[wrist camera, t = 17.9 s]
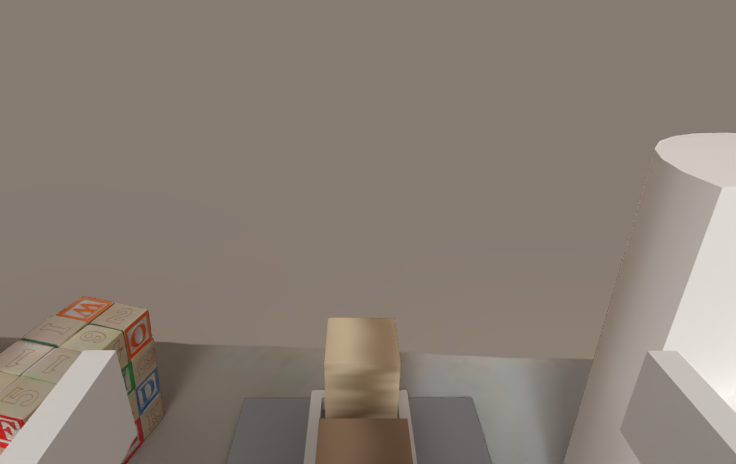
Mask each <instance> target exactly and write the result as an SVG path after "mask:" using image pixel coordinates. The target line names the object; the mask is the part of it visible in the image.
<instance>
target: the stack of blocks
mask: <svg viewBox="0 0 736 464" xmlns="http://www.w3.org/2000/svg"><path fill="white" fill-rule="evenodd" d="M83 350H116V353H117V356H118V360H119V364H120V368H121V372H122V376H123V380H124V384H125V387H126V391H127V395H128V399H129V403H130V407H131V411H132V415H133V418H134V422H135V426H136V430H137V434H136V436H135V438H134V440H133V442H132V444H131V446H130V448H129V449H128V451H127V453H126V455H125V457H124V459H123V461H122V463H121V464H126V463H127V461H128V460H129V459H130V458H131V456H132V455H133V454H134V453H135V451H136V450H137V449H138V448H139V446H140V445H141V444H142V443H143V441H144V440H145V439H146V438H147V437H148V436H149V434H150V433H151V432H152V431H153V429H154V428H155V427H156V425H157V424H158V423H159V422H160V420H161V419H162V418H163V416H164V410H163V404H162V397H161V392H160V386H159V380H158V372H157V366H156V365H157V360H156V352H155V345H154V339H153V338H152V334H151V326H150V319H149V312H148V310H147V309H145V308H140V307H135V306H130V305H126V304H122V303H115V304H114V303H113V302H111V301H106V300H100V299H96V298H90V297H85V296H83V297H81V298H79V299H78V300H77V301H75V302H74V303H72V304H71V305H70V306H68V307H67V308H65V309H64V310H62V311H61V312H60V313H58V314H57V315H56V316H51V317H49V318H48V319H47V320H45V321H44V322H43V323H41V324H39V325H38V326H37V327H35V328H34V329H33V330H31V331H30V332H28V333H27V334H26V335H24V336H23V337H22V340H20V341H17V342H15V343H14V344H12V345H11V346H9V347H8V348H7V349H6V350H4V351H3V352H1V353H0V455H1V454H2V452H3V451H4V450H5V449H6V447H7V446H8V445H9V444H10V442H11V441H12V440H13V439H14V437H15V436H16V435H17V434H18V432H19V431H20V430H21V429H22V427H23V426H24V425H25V423H26V422H27V421H28V420H29V418H30V417H31V416H32V415H33V413H34V412H35V411H36V410H37V408H38V407H39V406H40V405H41V403H42V402H43V401H44V400H45V398H46V397H47V396H48V394H49V393H50V392H51V391H52V389H53V388H54V387H55V386H56V384H57V383H58V382H59V381H60V379H61V378H62V377H63V376H64V374H65V373H66V372H67V371H68V369H69V368H70V367H71V365H72V364H73V363H74V362H75V360H76V359H77V358H78V357H79V355H80V354H81V353H82V352H83Z"/></svg>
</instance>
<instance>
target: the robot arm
mask: <svg viewBox="0 0 736 464" xmlns="http://www.w3.org/2000/svg"><path fill="white" fill-rule="evenodd" d="M620 432H621V433H622V435H623V436H624V438H625V440H626V441H627V443H628V444H629V446H630V448H631V449H632V451H633V452H634V454H635V455H636V457H637V459H638V460H639V462H640V463H641V464H736V413H735V412H734V411H733V409H732V408H731V407H730V406H729V405H728V404H727V403H726V402H725V401H724V400H723V399H722V398H721V397H720V396H719V395H718V394H717V393H716V392H715V390H714V389H713V388H712V387H711V386H710V385H709V384H708V383H707V382H706V381H705V380H704V379H703V378H702V377H701V376H700V375H699V374H698V373H697V371H696V370H695V369H694V368H693V367H692V366H691V365H690V364H689V363H688V362H687V361H686V360H685V359H684V358H683V357H682V356H681V355H680V354H679V352H678V351H647V353H646V356H645V358H644V361H643V364H642V367H641V370H640V373H639V376H638V379H637V381H636V384H635V387H634V390H633V393H632V396H631V399H630V401H629V404H628V407H627V410H626V413H625V416H624V419H623V421H622V424H621V427H620ZM136 434H137V430H136V426H135V422H134V418H133V415H132V411H131V407H130V403H129V399H128V395H127V391H126V387H125V384H124V380H123V376H122V372H121V368H120V364H119V360H118V356H117V353H116V350H83V352H82V353H81V354H80V355H79V357H78V358H77V359H76V360H75V362H74V363H73V364H72V365H71V367H70V368H69V369H68V371H67V372H66V373H65V374H64V376H63V377H62V378H61V379H60V381H59V382H58V383H57V384H56V386H55V387H54V388H53V389H52V391H51V392H50V393H49V394H48V396H47V397H46V398H45V400H44V401H43V402H42V403H41V405H40V406H39V407H38V408H37V410H36V411H35V412H34V413H33V415H32V416H31V417H30V418H29V420H28V421H27V422H26V423H25V425H24V426H23V427H22V429H21V430H20V431H19V432H18V434H17V435H16V436H15V437H14V439H13V440H12V441H11V442H10V444H9V445H8V446H7V447H6V449H5V450H4V451H3V452H2V454H1V455H0V464H121V463H122V461H123V459H124V457H125V455H126V453H127V451H128V449H129V448H130V446H131V444H132V442H133V440H134V438H135V436H136Z"/></svg>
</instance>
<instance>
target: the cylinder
mask: <svg viewBox="0 0 736 464" xmlns="http://www.w3.org/2000/svg"><path fill="white" fill-rule="evenodd" d="M647 351H678V352H679V354H680V355H681V356H682V357H683V358H684V359H685V360H686V361H687V362H688V363H689V364H690V365H691V366H692V367H693V368H694V369H695V370H696V371H697V373H698V374H699V375H700V376H701V377H702V378H703V379H704V380H705V381H706V382H707V383H708V384H709V385H710V386H711V387H712V388H713V389H714V390H715V392H716V393H717V394H718V395H719V396H720V397H721V398H722V399H723V400H724V401H725V402H726V403H727V404H728V405H729V406H730V407H731V408H732V409H733V411H734V412H735V413H736V133H696V134H687V135H679V136H673V137H670V138H667V139H664V140H661V141H659V143H658V144H657V146H656V147H655V150H654V153H653V156H652V160H651V163H650V167H649V170H648V174H647V177H646V180H645V184H644V188H643V191H642V194H641V198H640V201H639V205H638V208H637V211H636V215H635V218H634V222H633V225H632V229H631V232H630V236H629V239H628V242H627V246H626V249H625V253H624V256H623V260H622V263H621V267H620V270H619V273H618V277H617V280H616V284H615V287H614V291H613V294H612V297H611V301H610V304H609V308H608V311H607V315H606V318H605V322H604V325H603V329H602V332H601V335H600V339H599V343H598V346H597V349H596V353H595V356H594V359H593V363H592V366H591V370H590V373H589V377H588V380H587V384H586V387H585V390H584V394H583V397H582V401H581V404H580V408H579V411H578V415H577V418H576V421H575V425H574V428H573V432H572V435H571V439H570V442H569V445H568V449H567V452H566V456H565V459H564V463H563V464H641V463H640V462H639V460H638V459H637V457H636V455H635V454H634V452H633V451H632V449H631V448H630V446H629V444H628V443H627V441H626V440H625V438H624V436H623V435H622V433H621V432H620V427H621V424H622V421H623V419H624V416H625V413H626V410H627V407H628V404H629V401H630V399H631V396H632V393H633V390H634V387H635V384H636V381H637V379H638V376H639V373H640V370H641V367H642V364H643V361H644V358H645V356H646V353H647Z"/></svg>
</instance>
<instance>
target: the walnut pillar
mask: <svg viewBox="0 0 736 464" xmlns="http://www.w3.org/2000/svg"><path fill="white" fill-rule="evenodd" d="M315 464H413V458H412V450H411V442H410V434H409V426H408V418H374V419H319V426H318V437H317V448H316V459H315Z"/></svg>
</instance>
